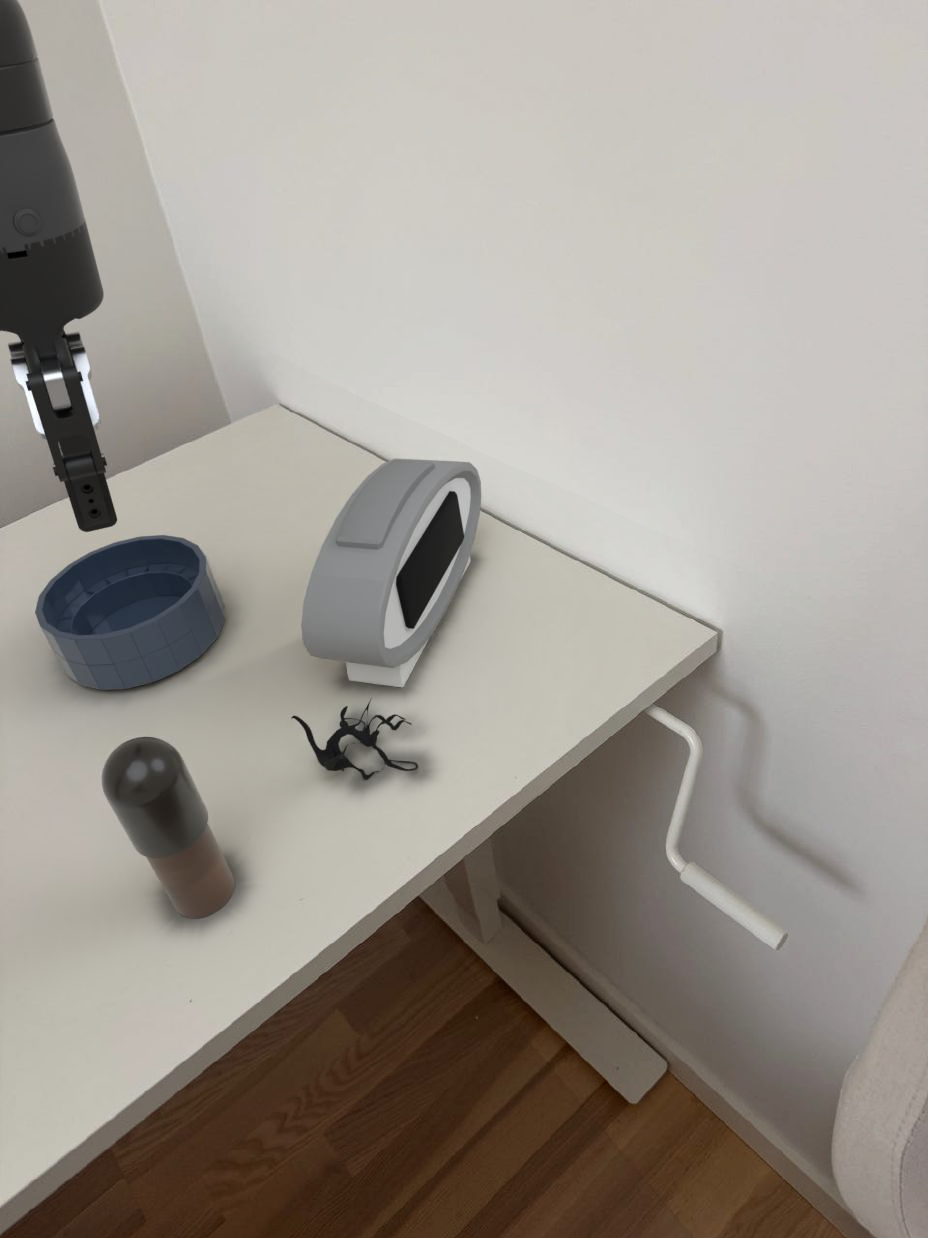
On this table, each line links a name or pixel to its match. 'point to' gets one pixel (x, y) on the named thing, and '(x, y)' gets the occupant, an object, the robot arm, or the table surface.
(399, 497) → the alarm clock
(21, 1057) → the table surface
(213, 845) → the two-tone capsule
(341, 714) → the creature
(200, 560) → the bowl
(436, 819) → the table surface
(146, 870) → the table surface
